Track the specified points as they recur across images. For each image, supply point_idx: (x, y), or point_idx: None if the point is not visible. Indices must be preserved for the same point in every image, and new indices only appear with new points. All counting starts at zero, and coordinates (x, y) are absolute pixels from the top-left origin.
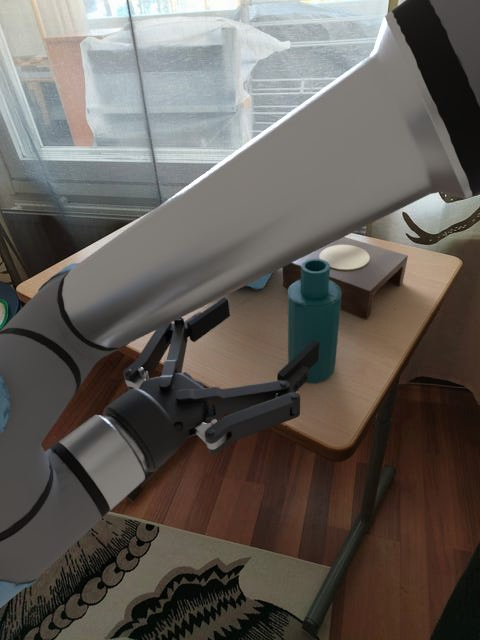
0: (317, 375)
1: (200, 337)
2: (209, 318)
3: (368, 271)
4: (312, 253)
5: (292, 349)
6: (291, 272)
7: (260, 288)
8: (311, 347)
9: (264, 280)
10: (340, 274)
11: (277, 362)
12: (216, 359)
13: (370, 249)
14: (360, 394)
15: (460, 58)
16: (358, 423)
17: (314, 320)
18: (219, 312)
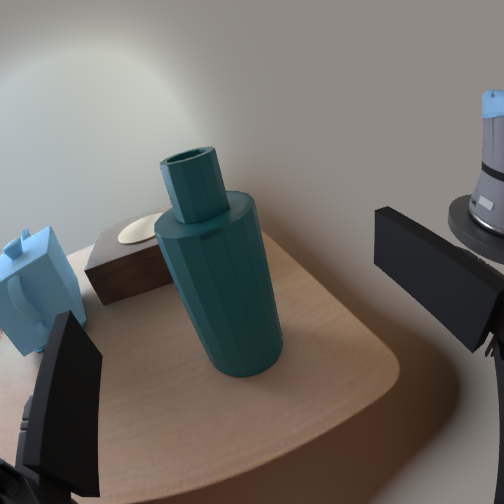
0: (277, 344)
1: (97, 468)
2: (67, 396)
3: None
4: (110, 246)
5: (227, 338)
6: (103, 278)
7: (82, 325)
8: (401, 217)
9: (81, 309)
10: None
11: (203, 382)
12: (125, 451)
13: (161, 210)
14: (329, 318)
15: None
16: (374, 338)
17: (248, 246)
18: (76, 360)
